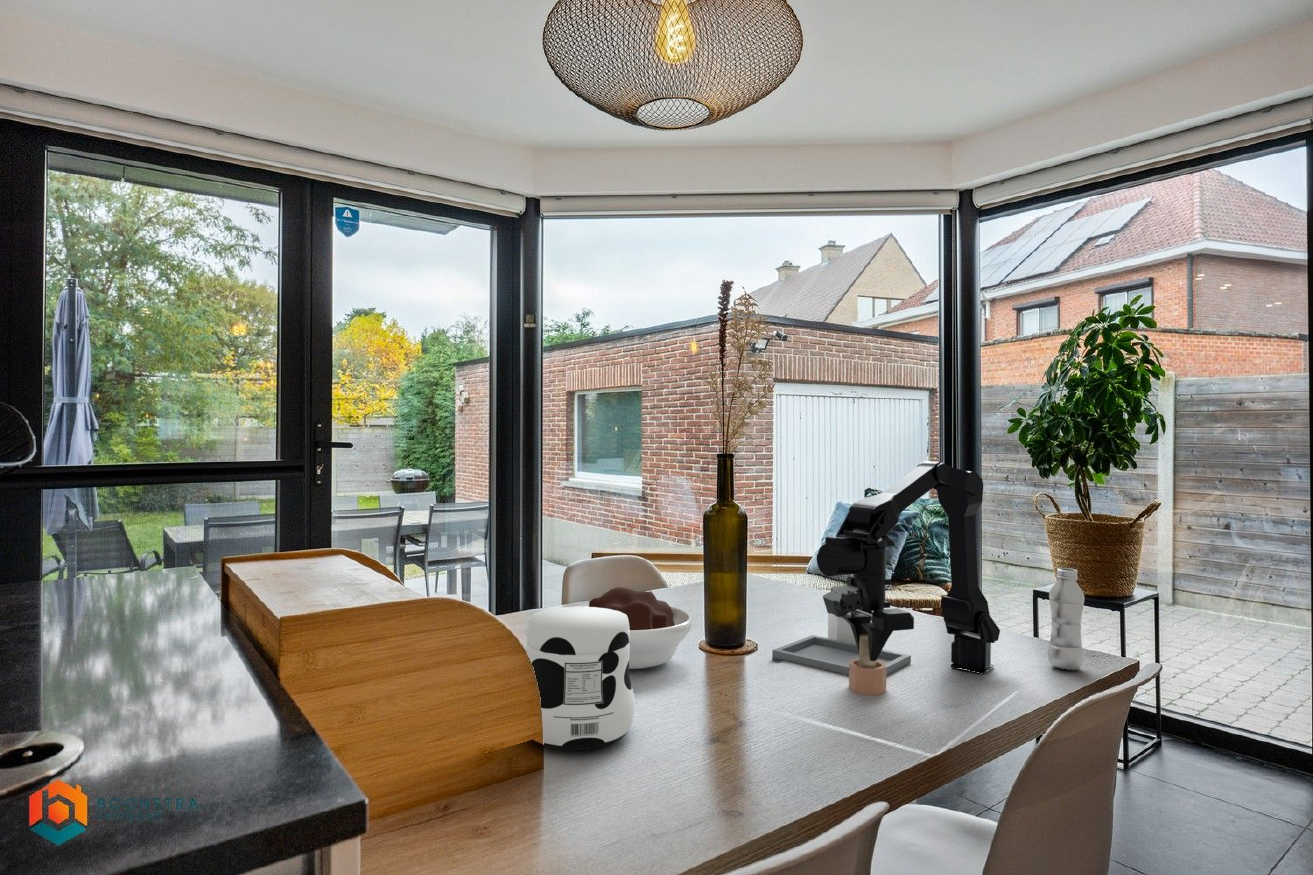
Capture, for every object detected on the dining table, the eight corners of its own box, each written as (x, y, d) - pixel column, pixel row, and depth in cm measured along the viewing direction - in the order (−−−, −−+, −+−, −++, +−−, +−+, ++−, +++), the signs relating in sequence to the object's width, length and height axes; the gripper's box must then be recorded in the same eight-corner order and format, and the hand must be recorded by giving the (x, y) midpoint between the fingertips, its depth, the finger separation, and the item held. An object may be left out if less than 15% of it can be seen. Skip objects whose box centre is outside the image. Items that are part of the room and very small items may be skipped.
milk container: (577, 707, 129) (578, 600, 129) (657, 734, 118) (659, 617, 118) (494, 738, 116) (496, 618, 115) (576, 771, 105) (578, 639, 104)
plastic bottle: (1047, 670, 154) (1048, 570, 154) (1047, 661, 160) (1049, 565, 160) (1084, 675, 151) (1085, 573, 151) (1083, 666, 157) (1085, 568, 157)
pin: (878, 688, 139) (879, 636, 139) (871, 692, 137) (872, 639, 137) (863, 684, 141) (864, 633, 141) (855, 688, 139) (856, 636, 139)
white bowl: (658, 641, 171) (659, 573, 171) (714, 673, 149) (715, 595, 149) (550, 653, 161) (551, 580, 161) (592, 689, 138) (593, 605, 138)
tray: (910, 665, 156) (910, 655, 156) (874, 684, 143) (875, 673, 143) (812, 644, 171) (812, 635, 171) (772, 659, 158) (772, 649, 158)
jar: (853, 650, 166) (854, 594, 166) (821, 642, 172) (822, 588, 172) (875, 642, 172) (876, 589, 172) (843, 635, 178) (844, 583, 178)
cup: (891, 691, 140) (892, 663, 140) (876, 699, 135) (876, 671, 135) (858, 683, 144) (859, 656, 144) (842, 691, 139) (843, 663, 139)
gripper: (803, 565, 145) (802, 647, 146) (860, 583, 128) (859, 677, 128) (854, 562, 149) (853, 643, 149) (916, 580, 131) (915, 671, 132)
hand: (867, 658), depth 139 cm, fingers closed on pin, 3 cm apart
